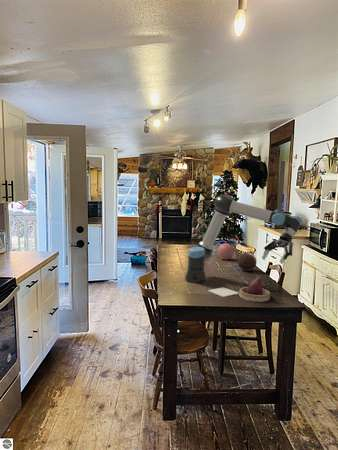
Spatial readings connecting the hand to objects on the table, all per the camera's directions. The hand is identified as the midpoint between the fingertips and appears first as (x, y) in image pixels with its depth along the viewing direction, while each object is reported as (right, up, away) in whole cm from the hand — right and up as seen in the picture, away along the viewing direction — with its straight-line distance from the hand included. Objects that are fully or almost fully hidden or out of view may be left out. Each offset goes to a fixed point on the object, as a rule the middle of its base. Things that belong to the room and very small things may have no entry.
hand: (271, 260), depth 215 cm
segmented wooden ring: (-12, -22, -5) cm, 26 cm away
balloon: (-10, -10, +105) cm, 106 cm away
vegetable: (-12, -22, -5) cm, 26 cm away
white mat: (-31, -20, +1) cm, 37 cm away
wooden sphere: (-2, -15, +63) cm, 65 cm away
